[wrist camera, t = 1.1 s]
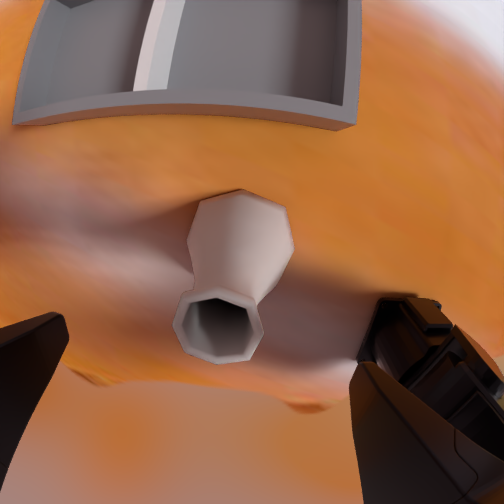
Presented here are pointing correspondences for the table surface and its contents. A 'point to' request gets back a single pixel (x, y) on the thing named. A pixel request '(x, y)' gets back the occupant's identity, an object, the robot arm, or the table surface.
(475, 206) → the table surface
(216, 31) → the caddy
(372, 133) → the table surface
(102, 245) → the table surface
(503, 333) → the table surface
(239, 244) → the flask
